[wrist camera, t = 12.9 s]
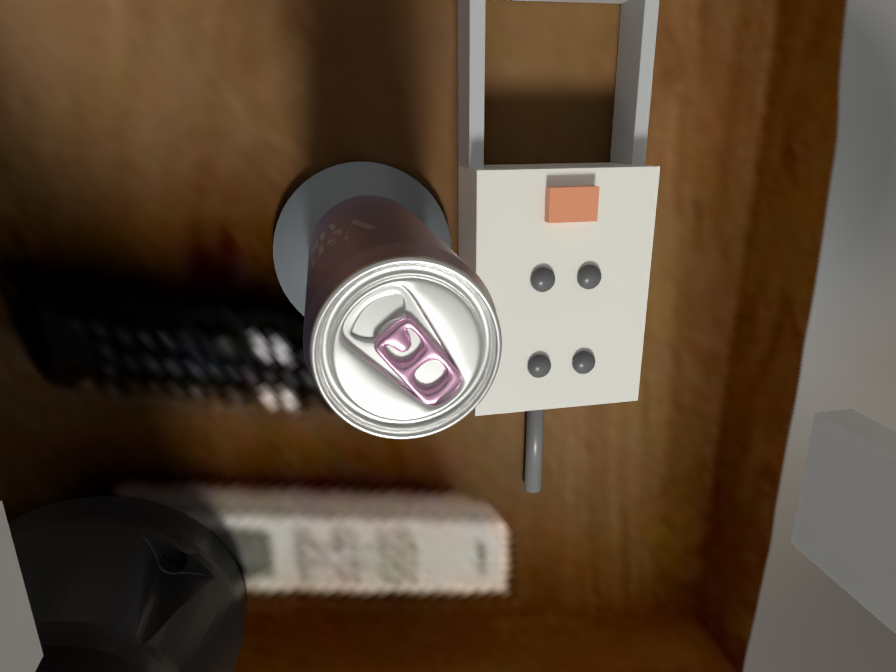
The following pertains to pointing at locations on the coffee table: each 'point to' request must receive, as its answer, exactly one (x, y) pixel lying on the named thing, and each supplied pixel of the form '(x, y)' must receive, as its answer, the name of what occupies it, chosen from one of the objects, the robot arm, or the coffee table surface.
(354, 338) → the beverage can
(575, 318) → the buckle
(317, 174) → the coaster
